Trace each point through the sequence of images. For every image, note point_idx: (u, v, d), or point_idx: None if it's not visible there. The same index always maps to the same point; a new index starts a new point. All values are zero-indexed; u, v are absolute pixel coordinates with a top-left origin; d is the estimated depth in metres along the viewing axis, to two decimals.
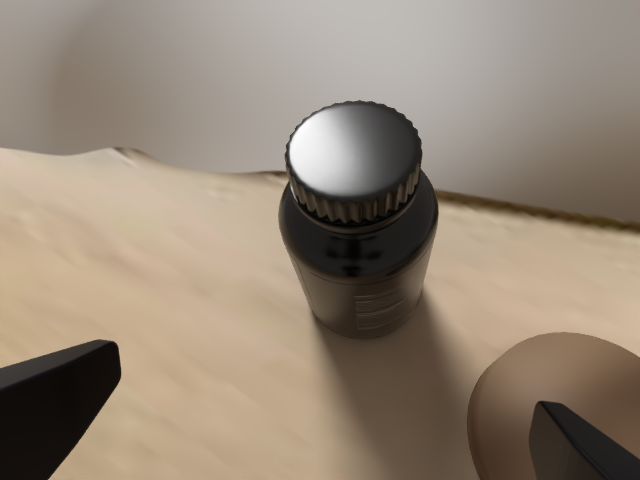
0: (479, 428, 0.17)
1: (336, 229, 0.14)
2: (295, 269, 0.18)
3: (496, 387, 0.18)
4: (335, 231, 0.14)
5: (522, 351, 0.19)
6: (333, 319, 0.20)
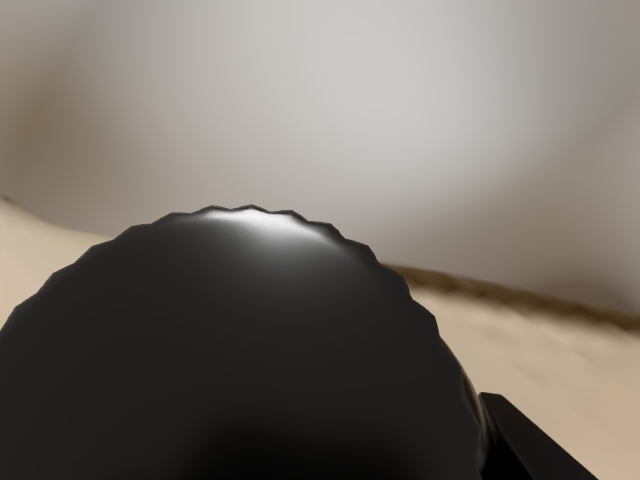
0: None
1: None
2: None
3: None
4: None
5: None
6: None
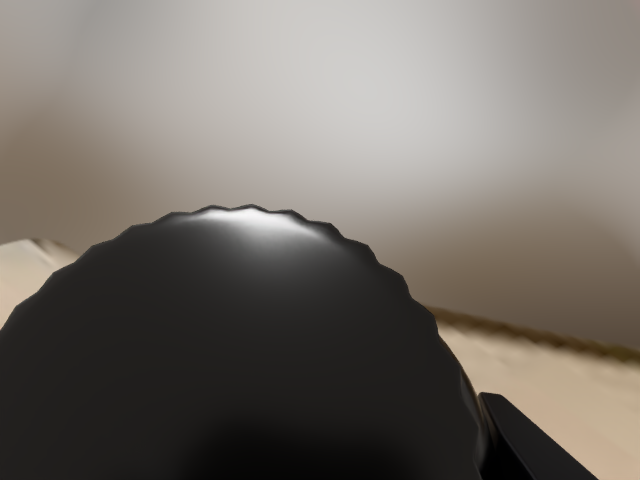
0: None
1: None
2: None
3: None
4: None
5: None
6: None
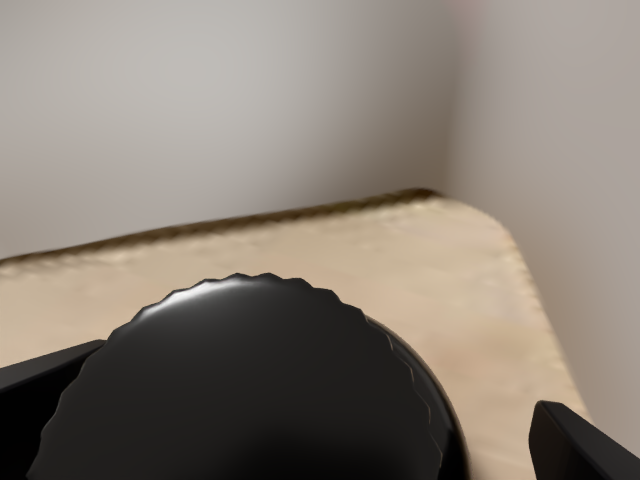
0: None
1: None
2: None
3: None
4: None
5: None
6: None
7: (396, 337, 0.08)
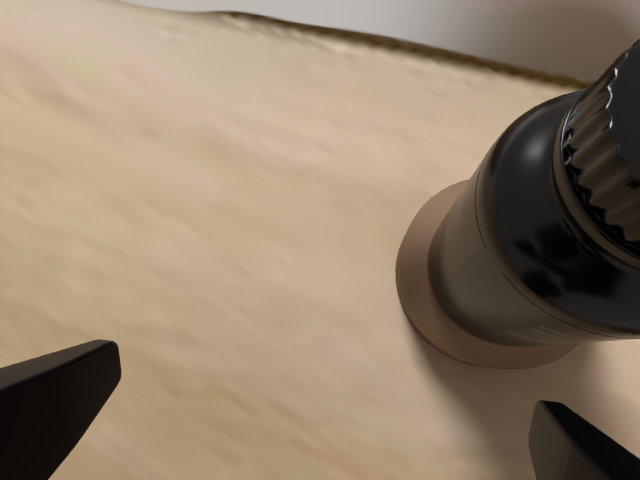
0: (401, 257, 0.19)
1: (622, 254, 0.08)
2: (461, 243, 0.12)
3: (423, 223, 0.19)
4: (614, 254, 0.08)
5: (453, 192, 0.19)
6: (463, 311, 0.15)
7: None
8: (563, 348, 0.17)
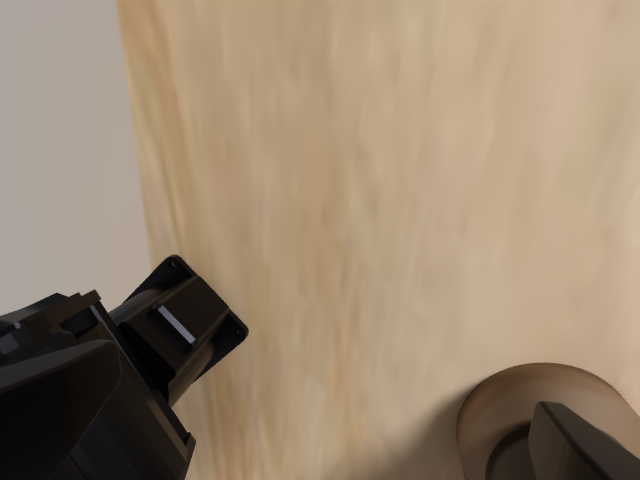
0: (538, 392, 0.19)
1: None
2: None
3: (585, 404, 0.18)
4: None
5: (631, 424, 0.18)
6: None
7: None
8: None
